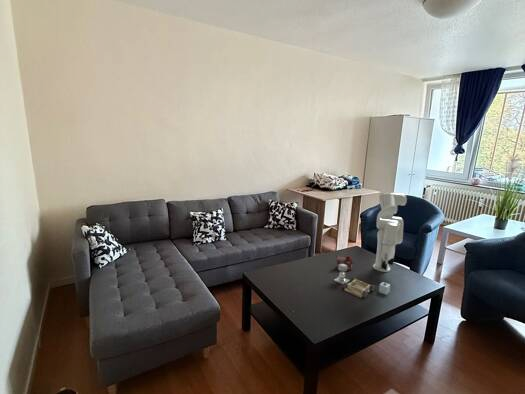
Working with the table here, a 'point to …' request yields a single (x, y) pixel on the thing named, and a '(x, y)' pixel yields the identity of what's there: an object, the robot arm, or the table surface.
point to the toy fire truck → (345, 261)
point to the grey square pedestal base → (341, 278)
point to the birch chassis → (358, 287)
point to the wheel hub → (342, 267)
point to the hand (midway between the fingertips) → (386, 266)
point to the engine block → (384, 288)
